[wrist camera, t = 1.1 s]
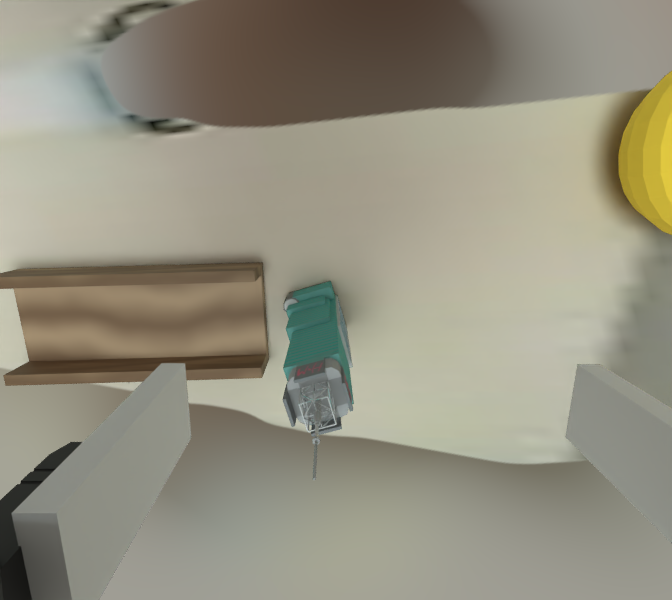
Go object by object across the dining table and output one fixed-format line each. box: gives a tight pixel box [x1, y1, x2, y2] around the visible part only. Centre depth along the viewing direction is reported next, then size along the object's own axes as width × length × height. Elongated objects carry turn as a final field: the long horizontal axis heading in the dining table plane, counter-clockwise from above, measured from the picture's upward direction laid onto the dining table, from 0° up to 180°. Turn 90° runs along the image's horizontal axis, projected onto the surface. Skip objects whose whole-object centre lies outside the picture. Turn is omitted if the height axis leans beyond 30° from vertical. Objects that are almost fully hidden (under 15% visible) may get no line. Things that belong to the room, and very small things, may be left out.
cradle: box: [0, 263, 269, 386], centre depth 46 cm, size 12×28×6 cm, turn 91°
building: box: [283, 281, 354, 480], centre depth 35 cm, size 6×6×30 cm
